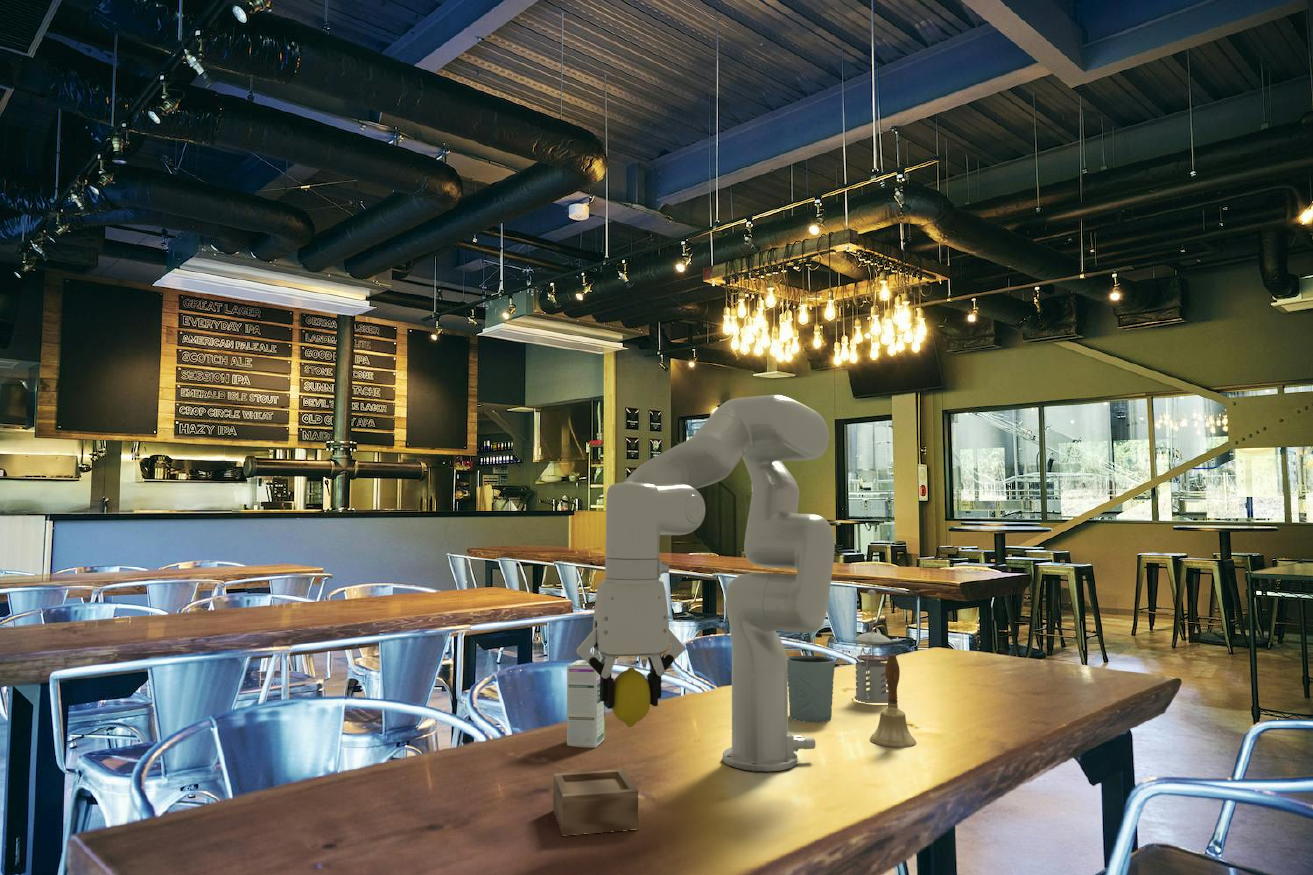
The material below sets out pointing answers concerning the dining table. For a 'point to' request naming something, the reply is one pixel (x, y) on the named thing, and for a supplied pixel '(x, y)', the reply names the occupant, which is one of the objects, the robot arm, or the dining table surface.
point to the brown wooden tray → (595, 802)
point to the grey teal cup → (810, 687)
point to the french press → (871, 668)
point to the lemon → (631, 696)
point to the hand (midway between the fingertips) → (630, 703)
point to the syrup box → (584, 706)
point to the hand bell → (892, 713)
